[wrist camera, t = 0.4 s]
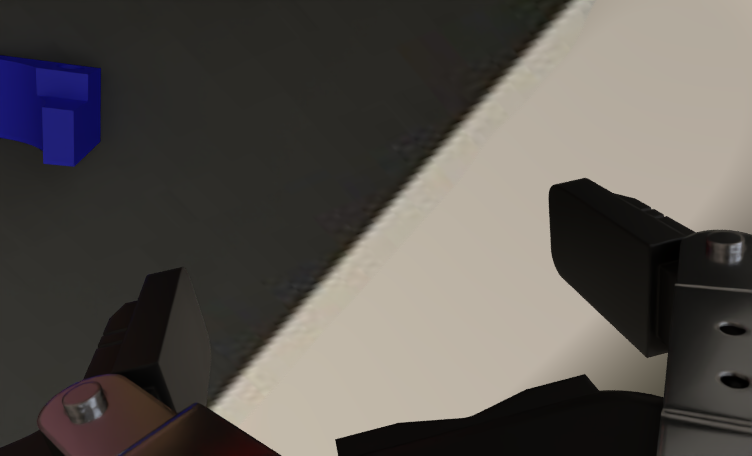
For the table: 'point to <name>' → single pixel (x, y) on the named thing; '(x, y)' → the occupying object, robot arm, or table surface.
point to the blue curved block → (50, 107)
